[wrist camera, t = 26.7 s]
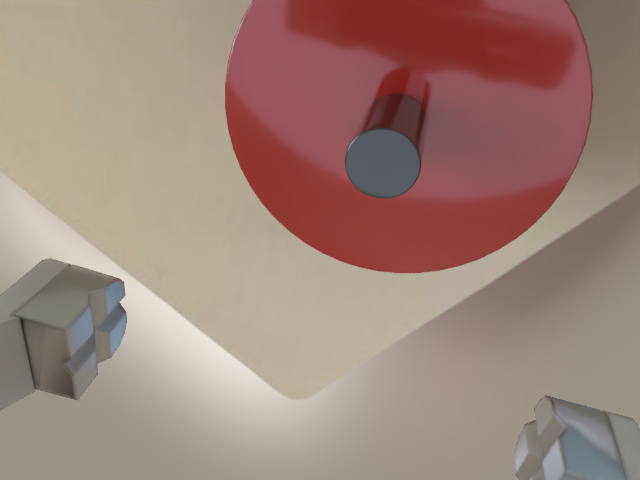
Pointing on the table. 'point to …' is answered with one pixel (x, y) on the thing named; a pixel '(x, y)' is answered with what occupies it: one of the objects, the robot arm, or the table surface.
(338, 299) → the table surface
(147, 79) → the table surface
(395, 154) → the lid
